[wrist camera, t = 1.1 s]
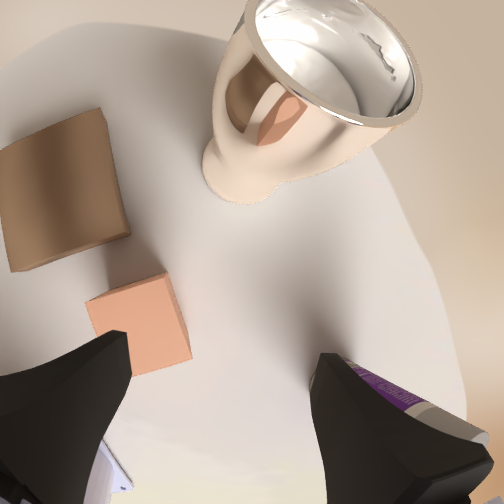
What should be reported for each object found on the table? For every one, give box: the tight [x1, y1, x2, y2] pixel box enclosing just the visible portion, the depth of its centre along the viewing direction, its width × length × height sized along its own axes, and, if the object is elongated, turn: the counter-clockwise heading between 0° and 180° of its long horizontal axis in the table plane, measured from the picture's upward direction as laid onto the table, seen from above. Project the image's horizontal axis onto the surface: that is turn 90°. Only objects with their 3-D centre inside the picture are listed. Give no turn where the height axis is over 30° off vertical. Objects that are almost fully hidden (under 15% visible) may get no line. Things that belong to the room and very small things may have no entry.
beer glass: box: [202, 0, 422, 205], centre depth 15 cm, size 7×7×15 cm
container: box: [310, 358, 489, 448], centre depth 16 cm, size 5×5×15 cm
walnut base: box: [0, 107, 131, 273], centre depth 17 cm, size 9×9×3 cm
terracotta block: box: [85, 272, 193, 377], centre depth 17 cm, size 4×4×6 cm
